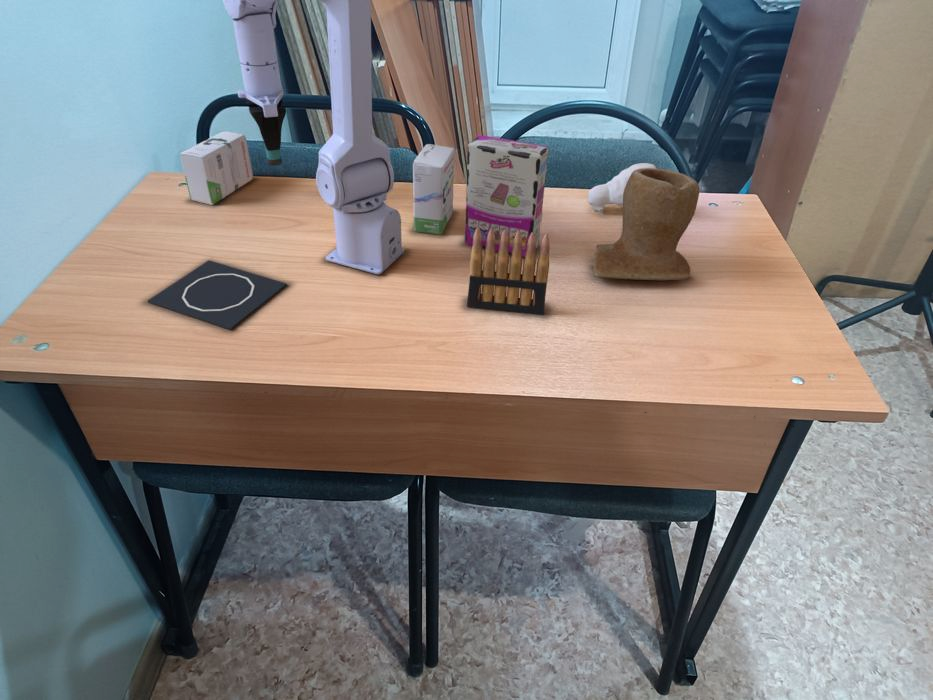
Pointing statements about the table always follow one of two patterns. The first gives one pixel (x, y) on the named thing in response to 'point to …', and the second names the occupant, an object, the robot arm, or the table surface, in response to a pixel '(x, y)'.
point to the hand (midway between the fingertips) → (272, 146)
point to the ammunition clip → (508, 275)
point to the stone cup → (650, 228)
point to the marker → (273, 157)
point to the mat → (218, 294)
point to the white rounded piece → (613, 188)
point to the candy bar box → (505, 189)
